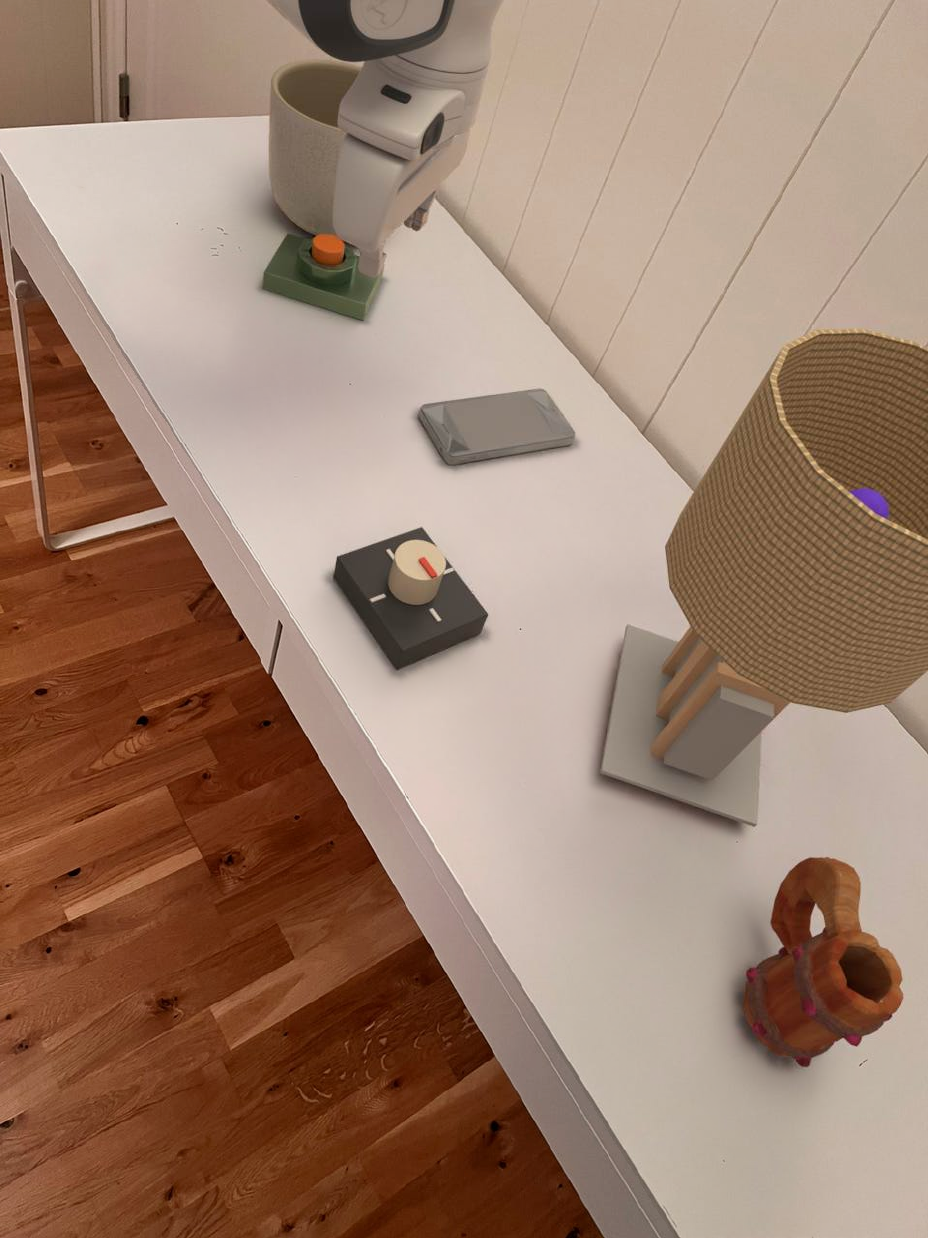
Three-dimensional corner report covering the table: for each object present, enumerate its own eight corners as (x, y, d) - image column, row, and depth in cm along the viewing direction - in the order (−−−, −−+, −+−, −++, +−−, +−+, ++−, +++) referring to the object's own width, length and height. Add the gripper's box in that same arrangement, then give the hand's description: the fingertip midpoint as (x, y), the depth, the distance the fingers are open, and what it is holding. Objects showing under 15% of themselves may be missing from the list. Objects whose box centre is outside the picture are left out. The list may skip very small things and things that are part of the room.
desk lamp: (590, 613, 85) (774, 290, 58) (783, 681, 86) (1056, 393, 58) (552, 790, 73) (763, 487, 46) (777, 869, 74) (1119, 616, 46)
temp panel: (332, 577, 81) (337, 555, 78) (415, 547, 85) (422, 525, 83) (396, 670, 76) (403, 650, 74) (480, 634, 81) (489, 613, 78)
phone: (575, 445, 99) (578, 436, 98) (446, 467, 93) (449, 458, 92) (541, 396, 103) (544, 387, 102) (415, 413, 96) (417, 404, 95)
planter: (424, 236, 117) (449, 117, 106) (327, 273, 108) (343, 147, 96) (334, 170, 122) (349, 49, 110) (234, 200, 112) (239, 71, 100)
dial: (378, 574, 78) (385, 546, 75) (420, 559, 80) (428, 531, 77) (405, 611, 77) (413, 584, 74) (447, 595, 79) (456, 567, 76)
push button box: (262, 288, 103) (264, 257, 100) (286, 249, 109) (288, 218, 106) (363, 320, 104) (368, 290, 101) (381, 279, 110) (387, 250, 106)
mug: (828, 1077, 64) (941, 1037, 55) (741, 1071, 63) (840, 1030, 54) (792, 907, 72) (886, 846, 62) (714, 899, 71) (796, 835, 61)
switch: (307, 259, 102) (309, 245, 101) (316, 244, 104) (318, 230, 103) (338, 269, 102) (340, 255, 101) (346, 253, 105) (348, 240, 103)
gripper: (438, 30, 76) (407, 187, 86) (327, 112, 63) (307, 285, 74) (506, 60, 75) (467, 214, 86) (408, 149, 62) (377, 317, 73)
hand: (392, 247), depth 80 cm, fingers open, 8 cm apart
